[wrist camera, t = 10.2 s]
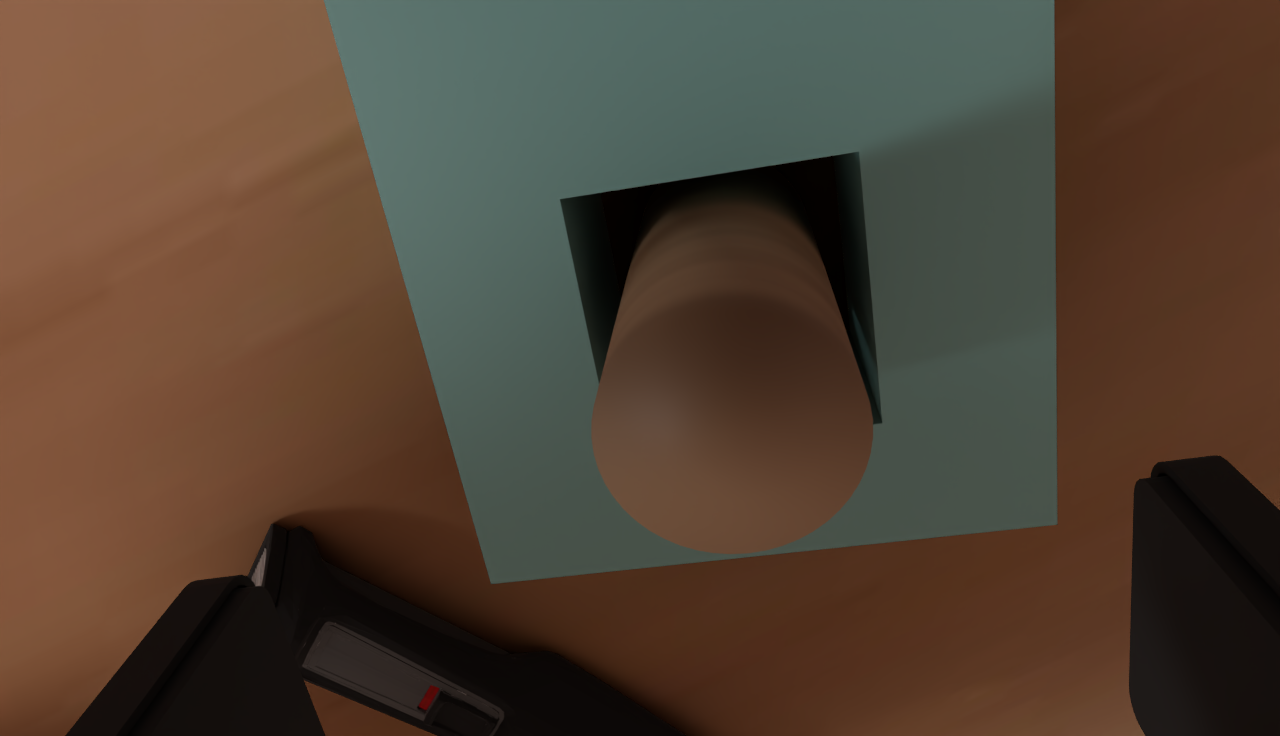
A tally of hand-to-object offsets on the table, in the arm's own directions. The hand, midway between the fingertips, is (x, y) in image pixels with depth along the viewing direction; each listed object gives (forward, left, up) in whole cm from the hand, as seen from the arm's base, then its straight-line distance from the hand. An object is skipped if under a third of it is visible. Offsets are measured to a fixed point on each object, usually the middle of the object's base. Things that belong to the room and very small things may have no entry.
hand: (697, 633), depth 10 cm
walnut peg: (0, 0, -14) cm, 14 cm away
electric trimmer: (-11, +8, -14) cm, 20 cm away
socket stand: (+3, 0, -14) cm, 14 cm away
